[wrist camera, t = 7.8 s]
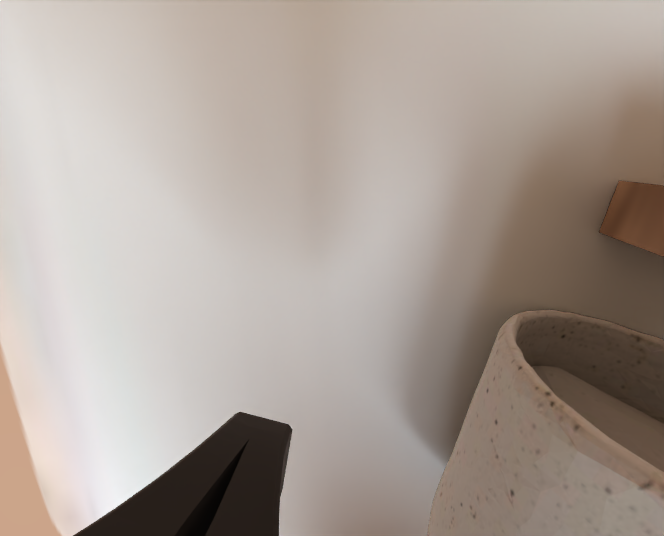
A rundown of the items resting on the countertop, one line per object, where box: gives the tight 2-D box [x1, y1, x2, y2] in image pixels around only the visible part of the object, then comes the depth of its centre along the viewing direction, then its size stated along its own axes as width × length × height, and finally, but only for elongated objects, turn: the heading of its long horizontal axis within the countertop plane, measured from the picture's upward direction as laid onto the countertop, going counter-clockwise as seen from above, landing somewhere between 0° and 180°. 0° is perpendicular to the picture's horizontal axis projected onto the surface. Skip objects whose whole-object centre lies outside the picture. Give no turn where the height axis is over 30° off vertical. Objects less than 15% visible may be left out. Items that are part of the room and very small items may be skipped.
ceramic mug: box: [427, 310, 664, 536], centre depth 9 cm, size 11×8×8 cm
